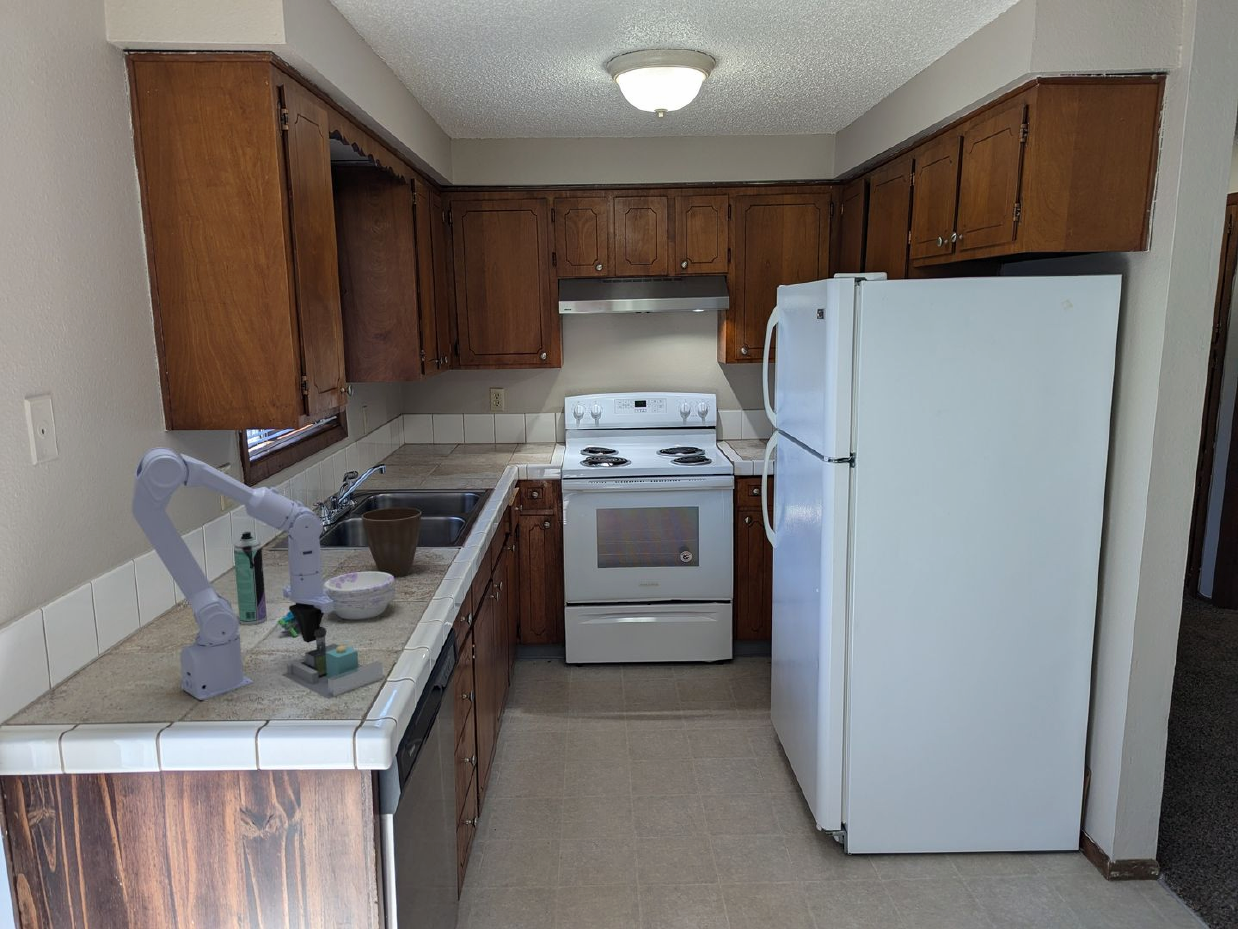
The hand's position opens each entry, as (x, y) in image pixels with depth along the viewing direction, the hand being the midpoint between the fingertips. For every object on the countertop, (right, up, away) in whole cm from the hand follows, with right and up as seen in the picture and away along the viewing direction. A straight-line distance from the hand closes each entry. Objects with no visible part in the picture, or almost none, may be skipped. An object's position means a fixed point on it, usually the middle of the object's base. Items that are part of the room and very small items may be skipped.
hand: (310, 640), depth 160 cm
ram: (+4, -5, -2) cm, 7 cm away
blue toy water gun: (-9, -2, +20) cm, 23 cm away
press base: (+6, -6, -4) cm, 9 cm away
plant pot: (0, +5, +60) cm, 60 cm away
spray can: (-22, -1, +26) cm, 34 cm away
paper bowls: (0, 0, +30) cm, 30 cm away
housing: (+8, -6, -6) cm, 12 cm away
